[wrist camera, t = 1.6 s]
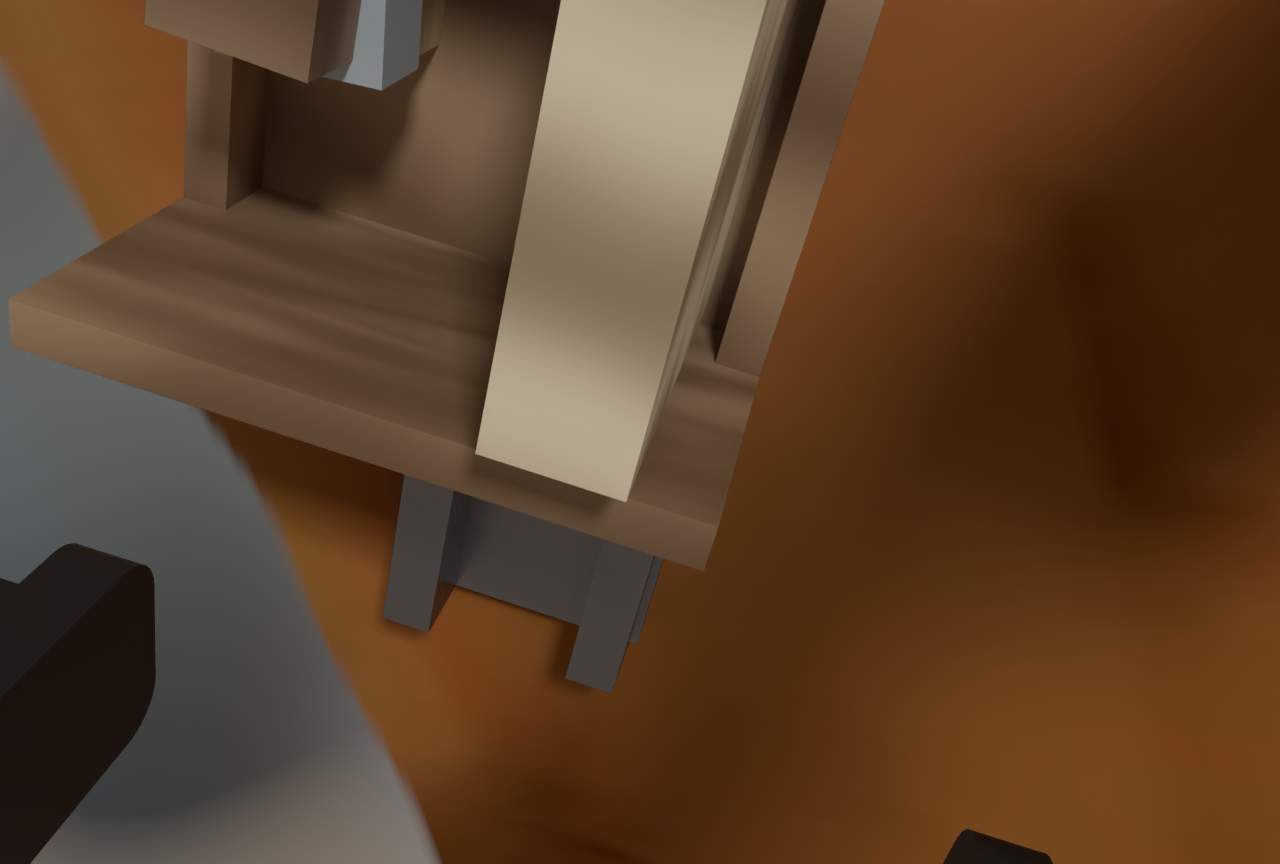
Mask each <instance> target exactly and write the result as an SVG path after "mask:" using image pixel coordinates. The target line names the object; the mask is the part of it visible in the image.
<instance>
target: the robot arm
mask: <svg viewBox="0 0 1280 864" xmlns="http://www.w3.org/2000/svg"><path fill="white" fill-rule="evenodd" d="M154 603H155V602H154V578H153V574H152V571H151V570H150V568H148V567H147V566H145V565H142V564H139V563H136V562H133V561H130V560H126V559H123V558H120V557H117V556H113V555H110V554H107V553H104V552H101V551H97V550H95V549H92V548H88V547H85V546H82V545H79V544H76V543H72V544H67V545H64V546H62V547H61V548H59V549H58V550H56V551H55V552H54V553H53V554H51V555H50V556H49V557H48V558H47V559H46V560H45V561H44V562H43V563H42V564H40V565H39V566H38V567H37V568H36V569H35V570H34V571H33V572H31V574H29V575H28V576H27V577H26V578H25V579H24V580H23V581H21V582H20V583H19V584H17V583H14V582H11V581H7V580H4V579H1V578H0V864H30V863H31V862H32V861H33V859H34V858H35V857H36V856H37V855H38V853H39V852H40V850H42V848H43V847H44V846H45V845H46V843H47V842H48V841H49V840H50V839H51V837H52V836H53V835H54V833H56V831H57V830H58V829H59V828H60V826H61V825H62V824H63V823H64V822H65V820H66V819H67V818H68V817H69V815H70V814H71V813H72V812H73V810H74V809H75V808H76V807H77V806H78V804H79V803H80V802H81V801H82V800H83V798H84V797H85V796H86V795H87V793H88V792H89V791H90V790H91V789H92V787H93V786H94V785H95V784H96V782H97V781H98V780H99V779H100V777H101V776H102V775H103V774H104V773H105V771H106V770H107V769H108V768H109V766H110V765H111V764H112V763H113V762H114V760H115V759H116V758H117V757H118V755H119V754H120V753H121V752H122V750H123V749H124V748H125V747H126V746H127V744H128V743H129V742H130V740H131V739H132V738H133V736H134V735H135V733H136V732H137V730H138V728H139V727H140V725H141V723H142V721H143V719H144V717H145V715H146V712H147V710H148V707H149V705H150V702H151V699H152V695H153V691H154V686H155V676H156V675H155V674H156V669H155V604H154ZM943 864H1053V863H1052V861H1051V859H1050V857H1049V856H1048V855H1047V854H1045V853H1042V852H1038V851H1035V850H1032V849H1029V848H1026V847H1023V846H1019V845H1016V844H1013V843H1010V842H1007V841H1004V840H1001V839H997V838H994V837H991V836H988V835H985V834H982V833H978V832H975V831H972V830H969V829H966V830H964V831H963V832H961V834H960V835H959V836H958V837H957V839H956V841H955V842H954V844H953V846H952V848H951V850H950V852H949V854H948V855H947V857H946V859H945V861H944V863H943Z"/></svg>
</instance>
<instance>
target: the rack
mask: <svg viewBox="0 0 1280 864" xmlns="http://www.w3.org/2000/svg"><path fill="white" fill-rule="evenodd" d="M884 1H885V0H799V2H798V5H797V9H796V12H795V16H794V19H793V22H792V26H791V29H790V33H789V36H788V39H787V43H786V46H785V50H784V53H783V56H782V60H781V63H780V66H779V70H778V73H777V77H776V80H775V83H774V87H773V90H772V94H771V97H770V100H769V104H768V107H767V111H766V114H765V117H764V121H763V124H762V128H761V131H760V134H759V138H758V141H757V145H756V148H755V151H754V155H753V158H752V162H751V165H750V168H749V172H748V175H747V179H746V182H745V185H744V189H743V192H742V195H741V199H740V202H739V206H738V209H737V212H736V216H735V219H734V223H733V226H732V229H731V233H730V236H729V240H728V243H727V246H726V250H725V253H724V257H723V260H722V263H721V267H720V270H719V274H718V277H717V280H716V283H715V286H714V288H713V291H712V293H711V296H710V298H709V300H708V303H707V305H706V308H705V310H704V313H703V315H702V318H701V320H700V323H699V325H698V327H697V330H696V332H695V335H694V337H693V340H692V342H691V345H690V347H689V349H688V352H687V354H686V357H685V359H684V362H683V364H682V367H681V369H680V372H679V374H678V376H677V379H676V381H675V384H674V386H673V389H672V391H671V394H670V396H669V398H668V401H667V403H666V406H665V408H664V411H663V413H662V416H661V418H660V421H659V423H658V425H657V428H656V430H655V433H654V435H653V438H652V440H651V443H650V445H649V448H648V450H647V452H646V455H645V457H644V460H643V462H642V465H641V467H640V470H639V472H638V474H637V477H636V479H635V482H634V484H633V487H632V489H631V492H630V494H629V497H628V499H627V501H626V502H624V501H620V500H617V499H614V498H611V497H608V496H605V495H602V494H599V493H596V492H592V491H589V490H586V489H583V488H580V487H577V486H574V485H571V484H568V483H565V482H561V481H558V480H555V479H552V478H549V477H546V476H543V475H540V474H537V473H533V472H530V471H527V470H524V469H521V468H518V467H515V466H512V465H509V464H506V463H502V462H499V461H496V460H493V459H490V458H487V457H484V456H481V455H478V454H475V452H476V447H477V442H478V437H479V431H480V426H481V421H482V415H483V410H484V405H485V400H486V394H487V389H488V384H489V378H490V373H491V368H492V363H493V357H494V352H495V347H496V341H497V336H498V331H499V326H500V320H501V315H502V310H503V304H504V299H505V294H506V289H507V283H508V278H509V273H510V268H511V262H512V257H513V252H514V246H515V241H516V236H517V231H518V225H519V220H520V215H521V209H522V204H523V199H524V194H525V188H526V183H527V178H528V172H529V167H530V162H531V157H532V151H533V146H534V141H535V135H536V130H537V125H538V120H539V114H540V109H541V104H542V98H543V93H544V88H545V83H546V77H547V72H548V67H549V61H550V56H551V51H552V46H553V40H554V35H555V30H556V24H557V19H558V14H559V9H560V3H561V0H445V8H444V15H443V22H442V29H441V36H440V44H439V45H437V46H435V47H434V48H432V49H430V50H428V51H427V52H425V53H423V54H421V55H420V56H419V67H418V69H417V70H415V71H414V72H412V73H410V74H409V75H407V76H405V77H404V78H402V79H400V80H399V81H397V82H395V83H393V84H392V85H390V86H388V87H387V88H385V89H383V90H377V89H373V88H369V87H364V86H360V85H356V84H351V83H347V82H343V81H338V80H334V79H329V78H325V77H319V78H317V79H315V80H313V81H311V82H309V83H305V82H302V81H299V80H297V79H294V78H291V77H288V76H285V75H283V74H280V73H277V72H274V71H272V70H269V69H266V68H263V67H261V66H258V65H255V64H252V63H249V62H247V61H244V60H241V59H238V58H236V57H233V56H229V55H225V54H220V53H216V52H214V50H213V49H211V48H208V47H205V46H202V45H200V44H197V43H194V42H191V41H188V55H187V96H186V137H185V178H184V197H183V198H182V199H180V200H178V201H176V202H175V203H173V204H171V205H169V206H168V207H166V208H164V209H163V210H161V211H159V212H157V213H156V214H154V215H152V216H150V217H149V218H147V219H145V220H144V221H142V222H140V223H138V224H137V225H135V226H133V227H131V228H130V229H128V230H126V231H125V232H123V233H121V234H119V235H118V236H116V237H114V238H113V239H111V240H109V241H107V242H106V243H104V244H102V245H100V246H99V247H97V248H95V249H94V250H92V251H90V252H88V253H87V254H85V255H83V256H81V257H80V258H78V259H76V260H75V261H73V262H71V263H70V264H68V265H66V266H64V267H63V268H61V269H59V270H57V271H56V272H54V273H52V274H50V275H49V276H47V277H45V278H44V279H42V280H40V281H38V282H37V283H35V284H33V285H31V286H30V287H28V288H26V289H25V290H23V291H21V292H20V293H18V294H16V295H15V296H12V297H11V298H9V299H8V303H9V319H10V335H11V346H12V347H13V348H17V349H20V350H23V351H26V352H29V353H32V354H35V355H38V356H41V357H44V358H47V359H50V360H53V361H56V362H60V363H63V364H66V365H69V366H72V367H75V368H78V369H81V370H84V371H87V372H90V373H94V374H96V375H100V376H103V377H106V378H109V379H112V380H115V381H118V382H121V383H124V384H127V385H131V386H134V387H137V388H140V389H143V390H146V391H149V392H152V393H155V394H158V395H161V396H164V397H168V398H171V399H174V400H177V401H180V402H183V403H186V404H189V405H192V406H195V407H198V408H201V409H204V410H207V411H210V412H214V413H217V414H220V415H223V416H226V417H229V418H232V419H235V420H238V421H241V422H244V423H247V424H251V425H254V426H257V427H260V428H263V429H266V430H269V431H272V432H275V433H278V434H281V435H284V436H288V437H291V438H294V439H297V440H300V441H303V442H306V443H309V444H312V445H315V446H318V447H321V448H325V449H328V450H331V451H334V452H337V453H340V454H343V455H346V456H349V457H352V458H355V459H358V460H361V461H365V462H368V463H371V464H374V465H377V466H380V467H383V468H386V469H389V470H392V471H395V472H398V473H402V474H405V475H408V476H411V477H414V478H417V479H420V480H423V481H426V482H429V483H432V484H435V485H439V486H442V487H445V488H448V489H451V490H454V491H457V492H460V493H463V494H466V495H469V496H472V497H475V498H479V499H482V500H485V501H488V502H491V503H494V504H497V505H500V506H503V507H506V508H509V509H512V510H516V511H519V512H522V513H525V514H528V515H531V516H534V517H537V518H540V519H543V520H546V521H549V522H553V523H556V524H559V525H562V526H565V527H568V528H571V529H574V530H577V531H580V532H583V533H586V534H589V535H593V536H596V537H599V538H602V539H605V540H608V541H611V542H614V543H617V544H620V545H623V546H626V547H630V548H633V549H636V550H639V551H642V552H645V553H648V554H651V555H654V556H657V557H660V558H663V559H667V560H670V561H673V562H676V563H679V564H682V565H685V566H688V567H691V568H694V569H697V570H700V571H704V569H705V566H706V563H707V560H708V557H709V554H710V551H711V548H712V545H713V542H714V539H715V536H716V533H717V530H718V527H719V523H720V520H721V516H722V512H723V509H724V505H725V501H726V498H727V494H728V490H729V487H730V483H731V479H732V476H733V472H734V468H735V465H736V461H737V457H738V454H739V450H740V446H741V443H742V439H743V435H744V432H745V428H746V425H747V421H748V417H749V414H750V410H751V406H752V403H753V399H754V395H755V392H756V388H757V384H758V381H759V377H760V374H761V371H762V368H763V365H764V362H765V359H766V356H767V353H768V350H769V347H770V344H771V341H772V338H773V335H774V332H775V329H776V326H777V323H778V320H779V317H780V314H781V311H782V308H783V305H784V302H785V299H786V296H787V293H788V290H789V287H790V284H791V281H792V278H793V275H794V272H795V269H796V266H797V263H798V260H799V257H800V254H801V251H802V248H803V245H804V242H805V239H806V236H807V233H808V230H809V227H810V224H811V221H812V218H813V215H814V212H815V209H816V206H817V203H818V200H819V197H820V194H821V191H822V188H823V185H824V181H825V178H826V175H827V172H828V169H829V166H830V163H831V160H832V157H833V154H834V151H835V148H836V145H837V142H838V139H839V136H840V133H841V130H842V127H843V124H844V121H845V118H846V115H847V112H848V109H849V106H850V103H851V100H852V97H853V94H854V91H855V88H856V85H857V82H858V79H859V76H860V73H861V70H862V67H863V64H864V61H865V58H866V55H867V52H868V49H869V46H870V43H871V40H872V37H873V34H874V31H875V28H876V25H877V22H878V19H879V16H880V13H881V10H882V7H883V4H884Z"/></svg>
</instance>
